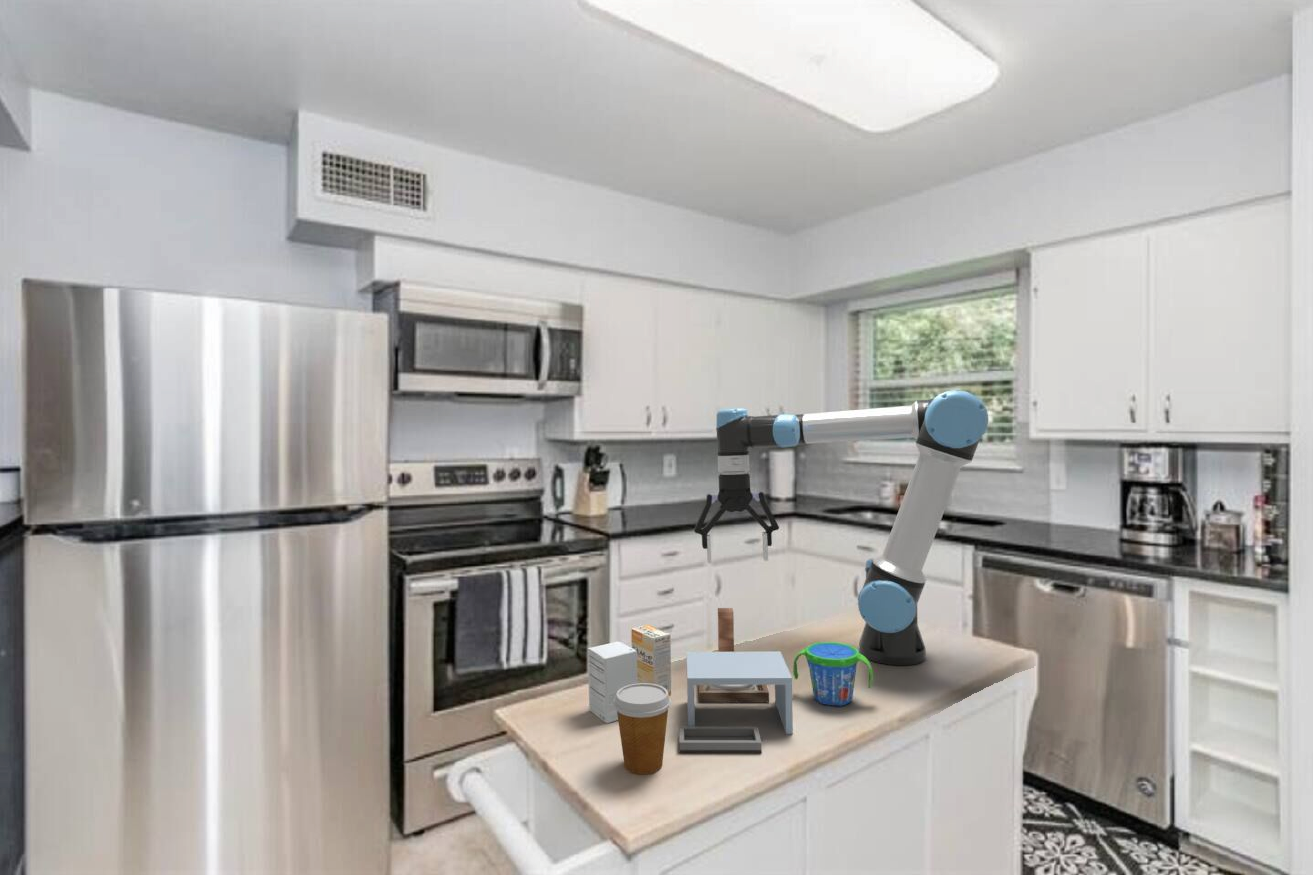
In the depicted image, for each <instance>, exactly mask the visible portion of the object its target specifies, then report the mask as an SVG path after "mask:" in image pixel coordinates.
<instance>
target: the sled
mask: <svg viewBox="0 0 1313 875" xmlns="http://www.w3.org/2000/svg"><path fill="white" fill-rule="evenodd" d="M734 622H735V620H734V610H733V607H717V648H718V649H717V652H735V631H734V630H735V629H734V624H735V623H734ZM697 686H698V698H699V699H698V700H699V703H770V692H769V689H768V685H758V686H759V690H755V691H708V690H705V685H697Z"/></svg>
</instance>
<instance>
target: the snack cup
mask: <svg viewBox="0 0 1313 875" xmlns="http://www.w3.org/2000/svg"><path fill="white" fill-rule="evenodd" d="M802 655H803V656H805V659H806V662H807V666H808V667H809V668H808V669H809V676H810V680H811V687H812V693H813V696H814V699H816V701H817V702H819V703H820V704H822V705H827V706H839V707H842V706H845V705H847V704H849V703H850V702H853V697H854V688H855V682H856V674H857V664H858V662H861V663H863V664H865V665H866V667H867V670H868V689H869V690H870V689H871V688H872V685H873V679H874V672H873V668H872V667H873V666H872V665H871V663H870V660H869V659H867V658H866V657H865V656H863V655H862V654H860V653H859V649H857V647H854V646H852V645H850V644H846V643H842V642H835V641H834V642H833V641H826V642H825V641H823V642H816V643H811V644H809V645H808V646H807V647H805V648H803V649H801V650H800V651H799V652H798V653H797V654H796V656H795V658H794V660H793V666H792V668H793V670H792V671H793V672H792V673H793V678H794V679H795V680H798V678H799V671H798V664H797V662H798V660H799V658H800V657H801V656H802Z"/></svg>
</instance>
